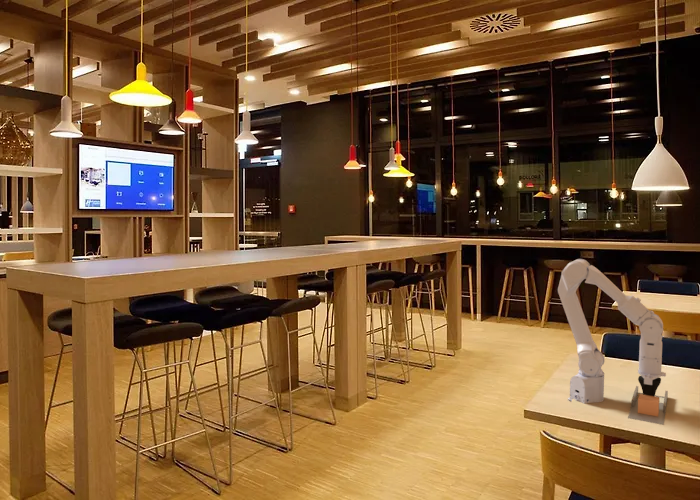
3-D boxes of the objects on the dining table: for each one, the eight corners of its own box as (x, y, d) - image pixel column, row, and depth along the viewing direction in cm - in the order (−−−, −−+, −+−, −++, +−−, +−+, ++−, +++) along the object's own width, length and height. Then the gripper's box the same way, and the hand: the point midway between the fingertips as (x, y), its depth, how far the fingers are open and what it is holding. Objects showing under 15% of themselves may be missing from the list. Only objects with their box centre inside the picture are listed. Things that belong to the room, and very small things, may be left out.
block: (658, 416, 146) (658, 402, 145) (637, 412, 148) (638, 399, 148) (658, 410, 150) (659, 397, 150) (639, 407, 153) (639, 394, 152)
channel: (663, 428, 140) (664, 417, 140) (627, 421, 145) (627, 410, 145) (667, 400, 161) (667, 390, 161) (635, 395, 166) (636, 386, 166)
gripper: (665, 364, 143) (663, 412, 144) (667, 352, 155) (665, 397, 156) (636, 360, 147) (634, 407, 148) (640, 349, 159) (638, 393, 160)
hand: (648, 402), depth 152 cm, fingers closed
